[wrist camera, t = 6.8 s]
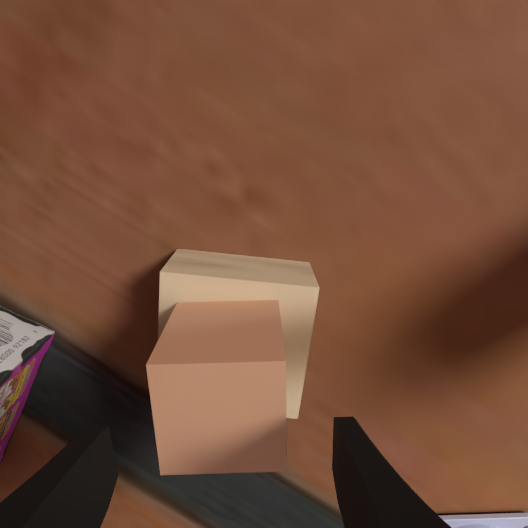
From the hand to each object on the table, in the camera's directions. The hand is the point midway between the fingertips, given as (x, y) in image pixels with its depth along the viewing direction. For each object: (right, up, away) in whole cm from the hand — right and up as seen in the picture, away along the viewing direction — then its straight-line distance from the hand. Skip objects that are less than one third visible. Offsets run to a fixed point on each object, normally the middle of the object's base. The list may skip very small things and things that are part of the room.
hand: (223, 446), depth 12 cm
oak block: (0, +3, +9) cm, 10 cm away
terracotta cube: (0, +2, +5) cm, 6 cm away
